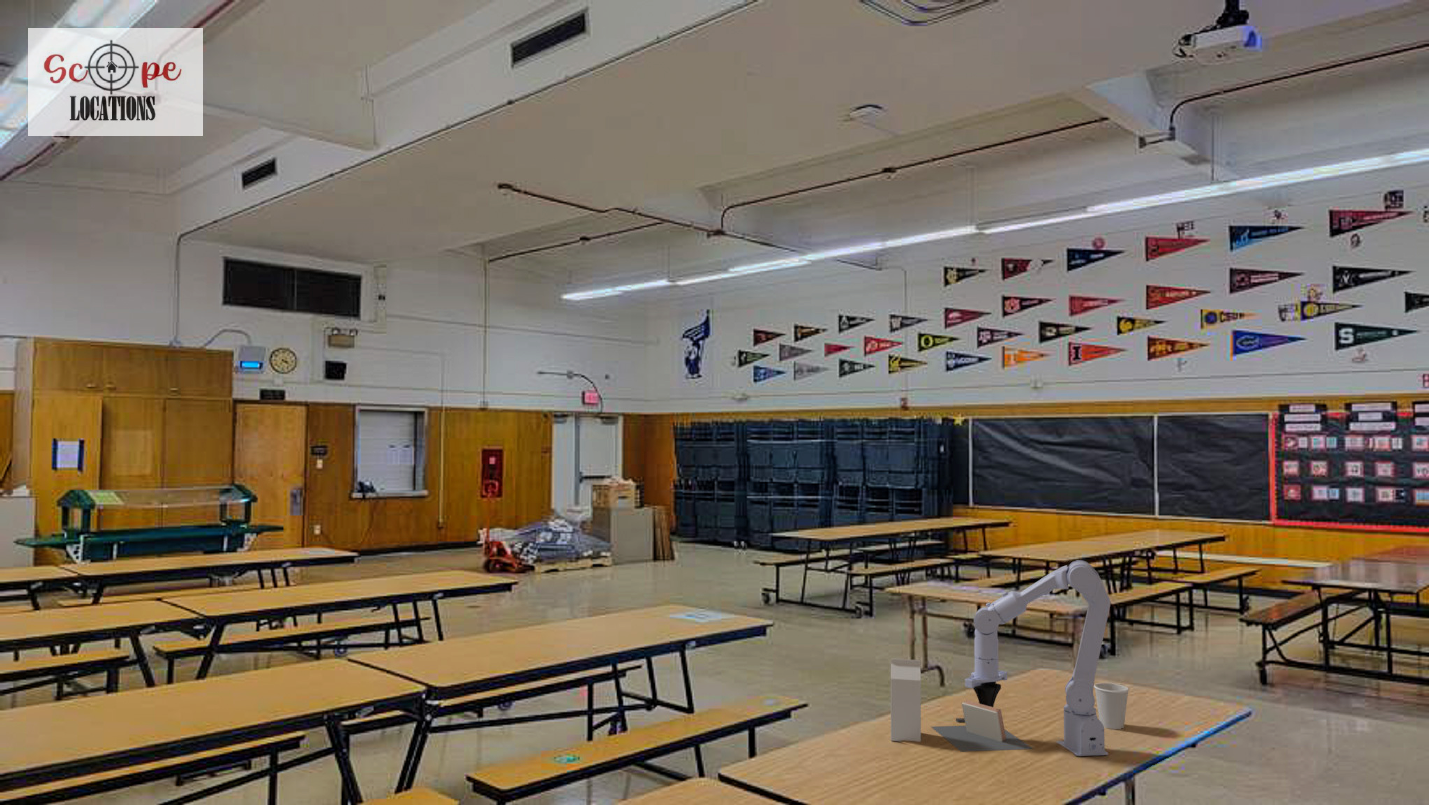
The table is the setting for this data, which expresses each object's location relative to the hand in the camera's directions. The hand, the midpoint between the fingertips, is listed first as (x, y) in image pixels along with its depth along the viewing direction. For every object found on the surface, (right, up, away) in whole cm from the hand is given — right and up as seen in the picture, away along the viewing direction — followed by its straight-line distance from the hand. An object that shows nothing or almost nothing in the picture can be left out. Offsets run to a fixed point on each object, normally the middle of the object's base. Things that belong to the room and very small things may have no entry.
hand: (986, 713), depth 222 cm
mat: (-2, -6, -2) cm, 6 cm away
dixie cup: (+36, -7, +11) cm, 38 cm away
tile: (0, -5, 0) cm, 5 cm away
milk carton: (-20, -6, -1) cm, 21 cm away
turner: (-3, -7, +11) cm, 13 cm away
